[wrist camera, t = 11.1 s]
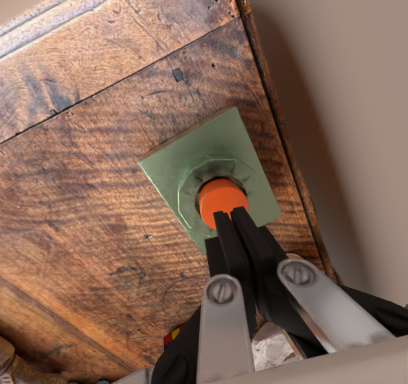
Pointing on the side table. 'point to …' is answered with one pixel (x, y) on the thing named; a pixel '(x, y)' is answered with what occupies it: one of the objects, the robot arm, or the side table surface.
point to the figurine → (21, 369)
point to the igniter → (209, 171)
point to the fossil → (269, 347)
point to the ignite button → (220, 199)
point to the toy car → (100, 383)
